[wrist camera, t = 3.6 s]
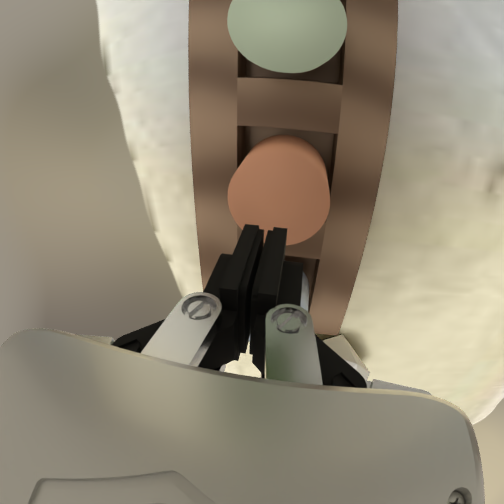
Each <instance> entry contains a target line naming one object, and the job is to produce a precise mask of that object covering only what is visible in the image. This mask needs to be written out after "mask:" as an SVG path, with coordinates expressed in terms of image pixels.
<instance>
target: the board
mask: <svg viewBox="0 0 504 504" xmlns="http://www.w3.org/2000/svg"><path fill="white" fill-rule="evenodd" d="M340 1H341V3H342V5H343V7H344V9H345V12H346V17H347V32H346V36H345V39H344V42H343V44H342V46H341V47H340V49H339V50H338V52H337V53H336V54H335V55H334V56H333V57H332V58H331V59H330V60H328V61H327V62H325V63H324V64H322V65H321V66H319V67H317V68H315V69H313V70H310V71H307V72H302V73H283V72H276V71H271V70H268V69H265V68H262V67H260V66H258V65H256V64H254V63H253V62H251V61H250V60H248V59H247V58H246V57H245V56H243V55H242V54H241V53H240V51H239V50H238V49H237V48H236V46H235V45H234V43H233V41H232V39H231V37H230V34H229V31H228V25H227V17H228V11H229V7H230V4H231V2H232V0H189V38H188V58H189V109H190V134H191V154H192V171H193V186H194V200H195V213H196V224H197V236H198V246H199V257H200V266H201V276H202V285H203V291H204V289H205V287H206V285H207V282H208V280H209V278H210V276H211V274H212V272H213V269H214V267H215V265H216V263H217V261H218V259H219V256H220V255H221V254H222V253H223V254H231V255H232V254H233V252H234V249H235V247H236V245H237V242H238V240H239V237H240V235H241V233H242V229H241V228H240V227H239V226H238V225H237V223H236V222H235V220H234V218H233V217H232V215H231V212H230V209H229V205H228V188H229V184H230V181H231V179H232V177H233V175H234V173H235V172H236V170H237V169H238V167H239V166H240V165H241V163H242V162H243V160H244V159H245V157H246V156H247V155H248V153H249V152H250V150H251V149H252V148H253V147H254V146H255V145H256V144H257V143H259V142H260V141H262V140H264V139H265V138H268V137H271V136H275V135H291V136H295V137H299V138H301V139H303V140H305V141H307V142H308V143H310V144H311V145H312V146H313V147H314V148H315V149H316V150H317V151H318V152H319V154H320V155H321V157H322V159H323V161H324V163H325V167H326V172H327V179H328V186H329V193H330V209H329V213H328V216H327V219H326V221H325V222H324V224H323V226H322V227H321V228H320V229H319V230H318V231H317V232H316V233H315V234H314V235H313V236H311V237H310V238H308V239H307V240H305V241H302V242H300V243H297V244H293V245H286V250H285V261H291V262H300V263H303V272H304V273H305V275H306V276H307V279H308V282H309V301H308V313H309V314H310V315H311V317H312V320H313V326H314V332H315V333H318V334H328V335H338V334H339V331H340V328H341V325H342V322H343V319H344V316H345V313H346V309H347V306H348V303H349V300H350V297H351V294H352V290H353V287H354V283H355V280H356V277H357V273H358V270H359V266H360V262H361V259H362V255H363V251H364V247H365V244H366V240H367V236H368V232H369V227H370V223H371V219H372V215H373V210H374V206H375V201H376V197H377V192H378V187H379V182H380V177H381V171H382V166H383V160H384V155H385V149H386V142H387V136H388V129H389V122H390V115H391V106H392V98H393V88H394V78H395V66H396V50H397V26H398V0H340ZM263 247H264V245H263Z"/></svg>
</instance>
